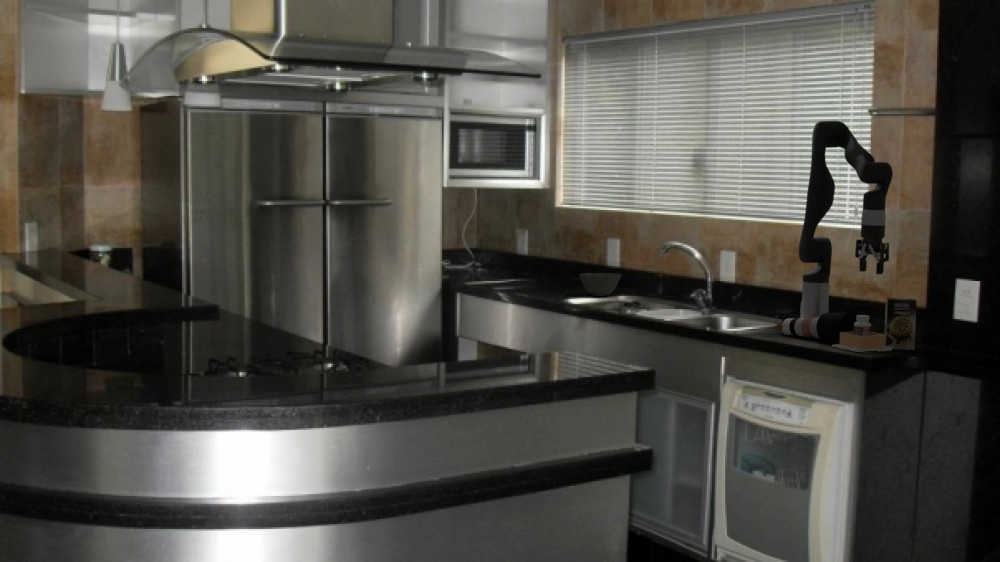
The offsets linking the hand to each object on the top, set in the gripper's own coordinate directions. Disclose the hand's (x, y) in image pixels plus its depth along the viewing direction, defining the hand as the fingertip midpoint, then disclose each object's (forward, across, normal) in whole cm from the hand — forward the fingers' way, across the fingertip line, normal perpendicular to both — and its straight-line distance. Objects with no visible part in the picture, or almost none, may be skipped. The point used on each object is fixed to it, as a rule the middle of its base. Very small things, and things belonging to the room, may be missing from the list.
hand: (871, 272), depth 395 cm
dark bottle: (+25, +17, +10) cm, 31 cm away
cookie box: (+24, -10, -4) cm, 26 cm away
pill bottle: (+23, -8, +8) cm, 25 cm away
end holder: (+24, -8, +8) cm, 26 cm away
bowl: (+29, +162, +20) cm, 166 cm away
